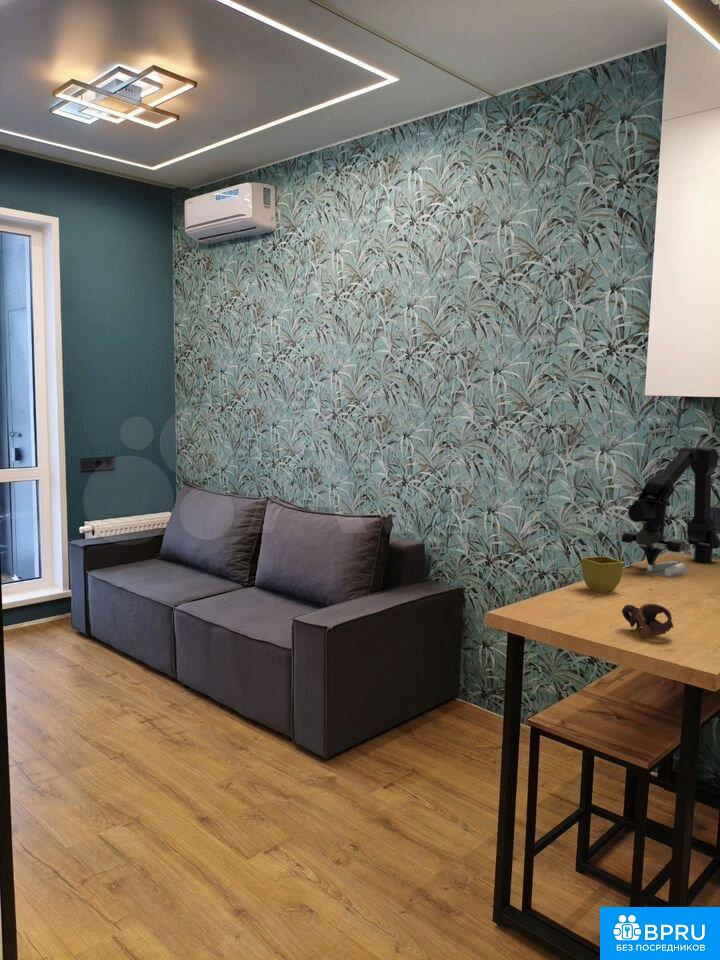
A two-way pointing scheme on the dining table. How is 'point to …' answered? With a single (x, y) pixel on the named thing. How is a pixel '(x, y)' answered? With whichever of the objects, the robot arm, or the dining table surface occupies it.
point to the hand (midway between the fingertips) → (650, 568)
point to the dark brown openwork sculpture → (648, 619)
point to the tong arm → (661, 565)
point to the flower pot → (601, 573)
